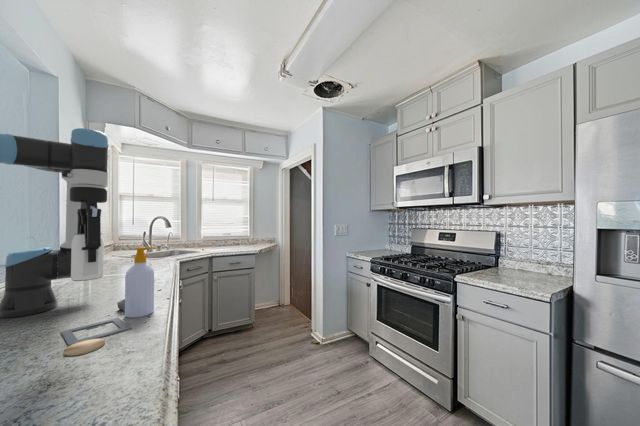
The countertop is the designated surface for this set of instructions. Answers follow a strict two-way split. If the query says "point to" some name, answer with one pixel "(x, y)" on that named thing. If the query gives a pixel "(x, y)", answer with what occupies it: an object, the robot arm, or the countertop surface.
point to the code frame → (72, 339)
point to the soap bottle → (139, 287)
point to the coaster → (84, 347)
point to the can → (78, 259)
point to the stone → (121, 304)
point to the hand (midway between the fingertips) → (87, 273)
